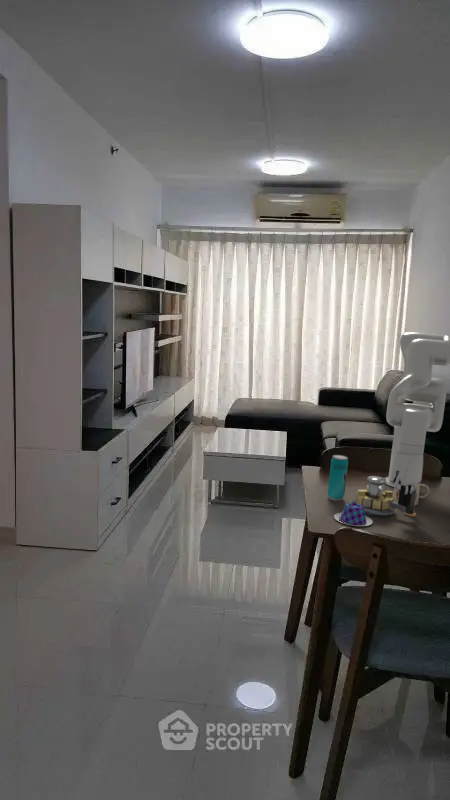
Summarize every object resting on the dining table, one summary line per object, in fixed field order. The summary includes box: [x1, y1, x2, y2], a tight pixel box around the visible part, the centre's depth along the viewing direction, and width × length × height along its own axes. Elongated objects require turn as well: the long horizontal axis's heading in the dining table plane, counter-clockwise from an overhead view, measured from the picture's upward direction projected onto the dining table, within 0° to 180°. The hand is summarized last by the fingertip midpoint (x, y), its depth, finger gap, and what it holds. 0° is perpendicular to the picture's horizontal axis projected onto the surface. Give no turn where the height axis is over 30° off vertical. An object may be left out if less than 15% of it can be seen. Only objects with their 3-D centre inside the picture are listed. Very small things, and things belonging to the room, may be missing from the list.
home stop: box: [404, 498, 417, 517], centre depth 201 cm, size 4×4×8 cm
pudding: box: [333, 502, 374, 527], centre depth 192 cm, size 12×12×5 cm
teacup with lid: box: [392, 479, 430, 506], centre depth 213 cm, size 12×9×12 cm
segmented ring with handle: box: [355, 485, 416, 514], centre depth 200 cm, size 19×12×8 cm, turn 53°
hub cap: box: [351, 475, 396, 519], centre depth 202 cm, size 14×14×11 cm
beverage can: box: [327, 454, 349, 502], centre depth 211 cm, size 6×6×15 cm
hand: (403, 505), depth 193 cm, fingers closed
